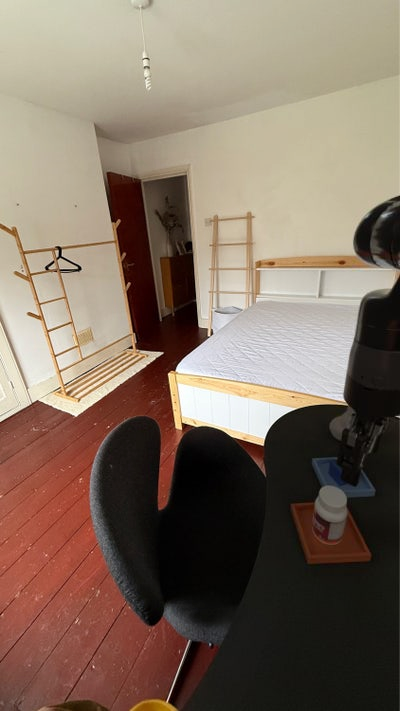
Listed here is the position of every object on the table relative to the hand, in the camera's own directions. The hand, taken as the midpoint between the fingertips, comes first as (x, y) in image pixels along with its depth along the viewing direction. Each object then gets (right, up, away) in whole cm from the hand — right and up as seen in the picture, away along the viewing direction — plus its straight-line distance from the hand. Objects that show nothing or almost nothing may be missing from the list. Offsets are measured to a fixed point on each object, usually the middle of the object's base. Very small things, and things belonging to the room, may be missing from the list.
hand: (360, 465), depth 45 cm
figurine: (+20, -8, +45) cm, 50 cm away
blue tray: (+12, -15, +32) cm, 37 cm away
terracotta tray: (+3, -22, +19) cm, 29 cm away
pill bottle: (+3, -22, +19) cm, 29 cm away
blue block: (+12, -15, +31) cm, 37 cm away
